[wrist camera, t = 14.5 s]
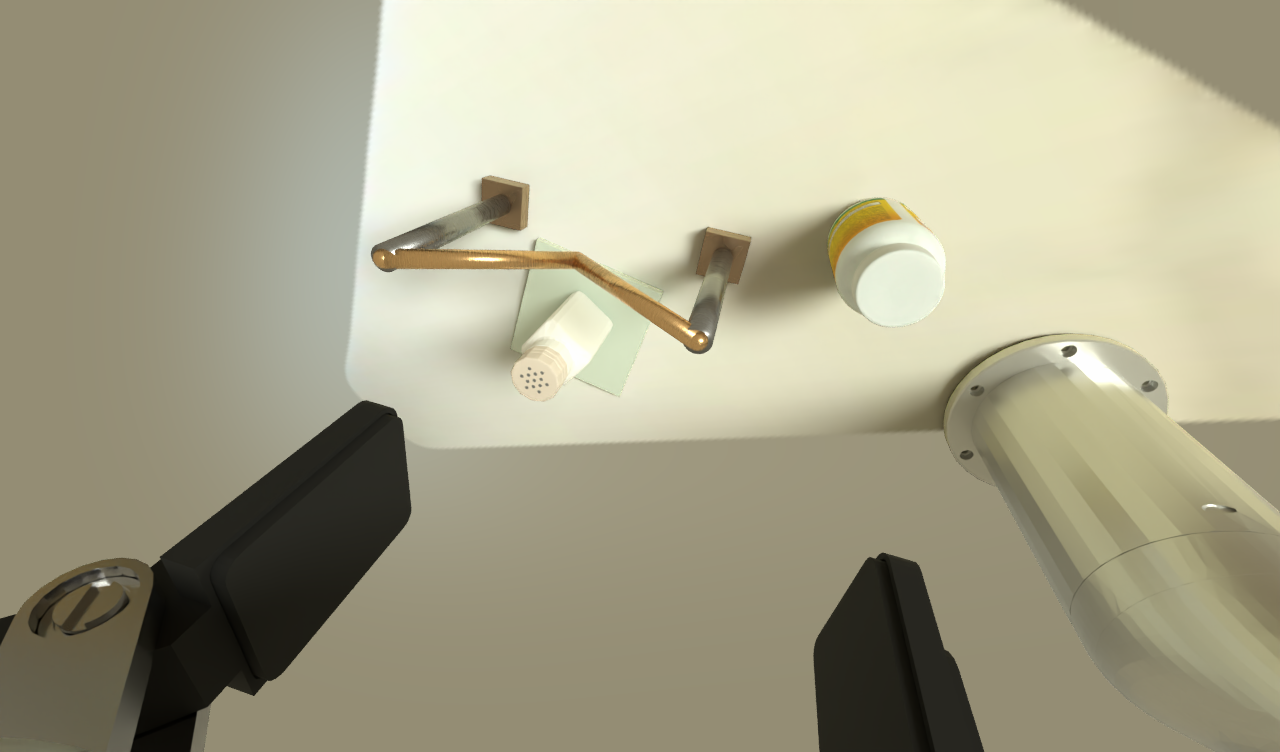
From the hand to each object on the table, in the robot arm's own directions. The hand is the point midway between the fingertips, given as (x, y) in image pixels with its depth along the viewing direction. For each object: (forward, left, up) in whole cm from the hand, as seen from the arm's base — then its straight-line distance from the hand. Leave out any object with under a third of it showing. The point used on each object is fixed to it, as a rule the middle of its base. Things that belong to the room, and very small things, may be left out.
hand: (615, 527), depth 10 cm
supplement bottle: (-9, -2, -28) cm, 30 cm away
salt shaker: (+7, +12, -28) cm, 31 cm away
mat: (+7, +12, -28) cm, 32 cm away
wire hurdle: (+7, +4, -28) cm, 29 cm away
